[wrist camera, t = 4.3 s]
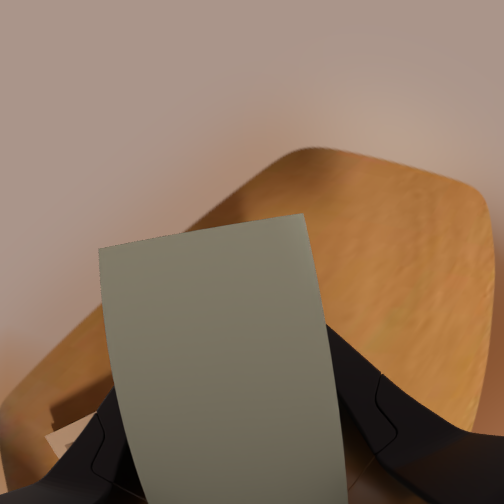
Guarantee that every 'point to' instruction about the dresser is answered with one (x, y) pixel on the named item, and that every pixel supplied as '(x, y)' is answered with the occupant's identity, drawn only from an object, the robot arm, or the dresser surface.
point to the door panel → (225, 365)
